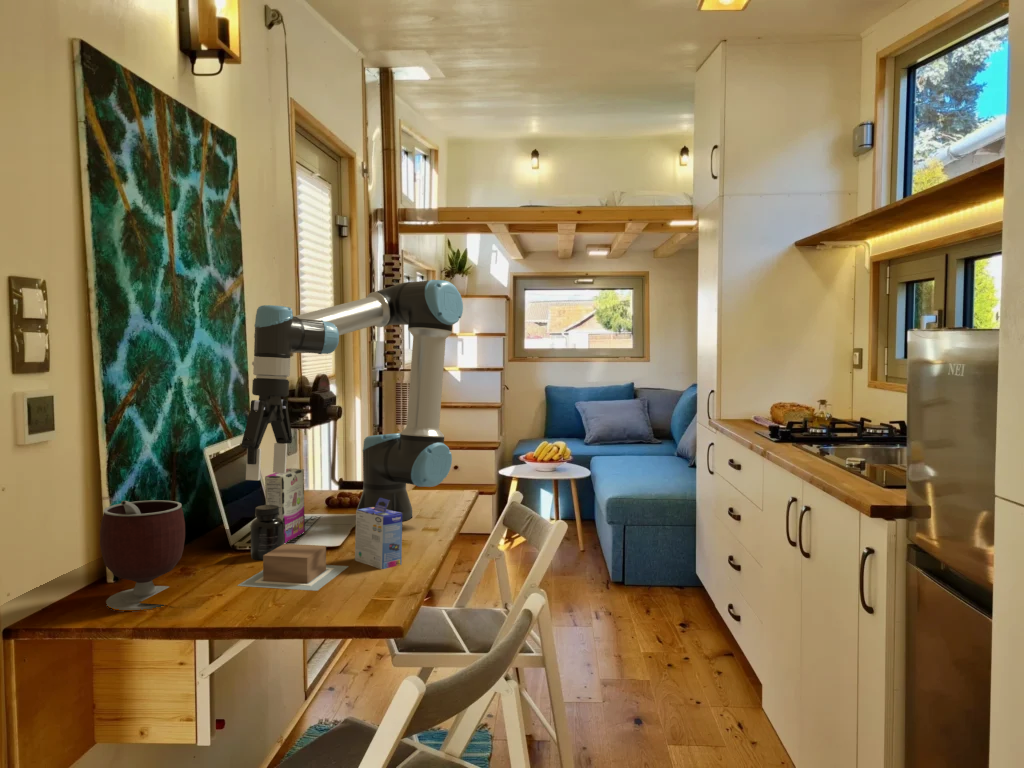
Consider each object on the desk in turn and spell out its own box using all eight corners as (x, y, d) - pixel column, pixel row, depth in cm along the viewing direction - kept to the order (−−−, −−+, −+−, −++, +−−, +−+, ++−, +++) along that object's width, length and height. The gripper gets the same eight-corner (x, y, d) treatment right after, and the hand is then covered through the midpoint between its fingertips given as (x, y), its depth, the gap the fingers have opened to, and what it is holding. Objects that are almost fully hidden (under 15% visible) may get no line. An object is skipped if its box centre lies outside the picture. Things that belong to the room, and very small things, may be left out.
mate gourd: (120, 588, 143) (119, 484, 142) (196, 587, 144) (195, 484, 143) (82, 617, 128) (80, 501, 127) (166, 615, 129) (165, 500, 128)
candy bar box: (286, 532, 188) (286, 467, 187) (305, 534, 187) (305, 468, 186) (264, 544, 177) (264, 475, 176) (284, 545, 176) (284, 476, 175)
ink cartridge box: (403, 569, 157) (403, 501, 157) (382, 575, 153) (382, 505, 152) (374, 560, 164) (374, 495, 163) (353, 565, 160) (353, 498, 159)
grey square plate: (276, 567, 158) (276, 561, 157) (348, 571, 155) (348, 565, 155) (237, 591, 142) (237, 585, 142) (317, 596, 139) (317, 590, 139)
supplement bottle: (249, 559, 164) (249, 504, 163) (282, 556, 167) (282, 502, 166) (252, 567, 158) (251, 511, 157) (285, 564, 160) (285, 508, 160)
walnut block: (284, 567, 154) (284, 543, 153) (326, 570, 152) (326, 545, 152) (263, 581, 145) (263, 555, 144) (307, 583, 143) (307, 557, 143)
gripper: (277, 377, 174) (273, 468, 174) (227, 375, 149) (222, 482, 149) (309, 379, 173) (304, 470, 173) (263, 377, 148) (258, 484, 148)
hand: (266, 476), depth 161 cm, fingers open, 13 cm apart
